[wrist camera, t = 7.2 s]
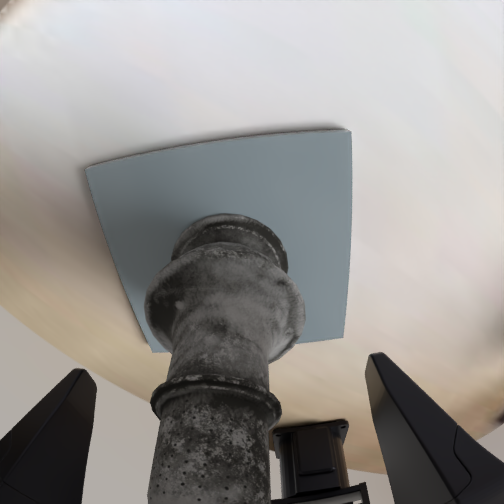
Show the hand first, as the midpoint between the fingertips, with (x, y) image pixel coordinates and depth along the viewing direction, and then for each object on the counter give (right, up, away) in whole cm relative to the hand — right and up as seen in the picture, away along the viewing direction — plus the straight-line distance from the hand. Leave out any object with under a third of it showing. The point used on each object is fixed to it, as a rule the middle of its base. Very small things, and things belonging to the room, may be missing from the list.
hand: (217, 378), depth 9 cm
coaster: (0, +3, +6) cm, 7 cm away
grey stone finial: (0, +3, +6) cm, 6 cm away
